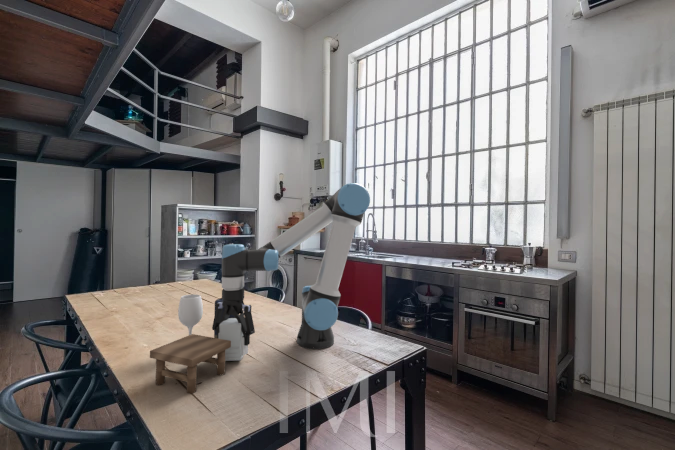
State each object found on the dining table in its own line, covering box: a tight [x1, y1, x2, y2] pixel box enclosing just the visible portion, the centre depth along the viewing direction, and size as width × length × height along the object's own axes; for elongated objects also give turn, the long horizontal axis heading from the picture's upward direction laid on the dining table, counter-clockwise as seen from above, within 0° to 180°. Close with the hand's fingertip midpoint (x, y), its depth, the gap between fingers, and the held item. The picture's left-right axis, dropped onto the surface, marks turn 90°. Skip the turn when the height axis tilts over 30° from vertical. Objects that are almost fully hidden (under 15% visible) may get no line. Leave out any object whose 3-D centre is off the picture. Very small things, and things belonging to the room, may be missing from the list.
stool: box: [149, 333, 231, 394], centre depth 99 cm, size 16×16×10 cm
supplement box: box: [219, 318, 244, 362], centre depth 113 cm, size 7×7×13 cm
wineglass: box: [177, 293, 204, 336], centre depth 117 cm, size 9×9×21 cm
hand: (233, 352), depth 113 cm, fingers closed on supplement box, 9 cm apart
